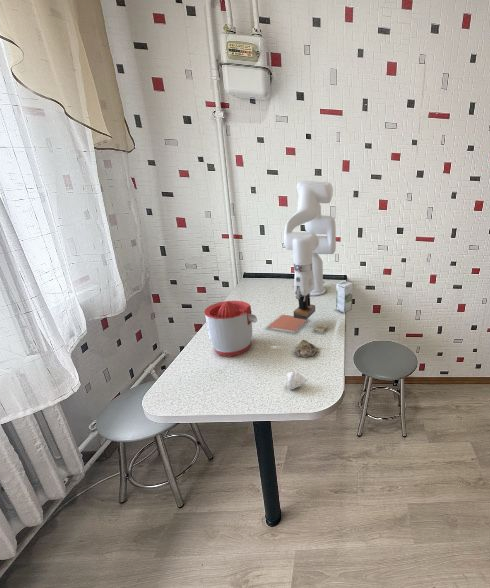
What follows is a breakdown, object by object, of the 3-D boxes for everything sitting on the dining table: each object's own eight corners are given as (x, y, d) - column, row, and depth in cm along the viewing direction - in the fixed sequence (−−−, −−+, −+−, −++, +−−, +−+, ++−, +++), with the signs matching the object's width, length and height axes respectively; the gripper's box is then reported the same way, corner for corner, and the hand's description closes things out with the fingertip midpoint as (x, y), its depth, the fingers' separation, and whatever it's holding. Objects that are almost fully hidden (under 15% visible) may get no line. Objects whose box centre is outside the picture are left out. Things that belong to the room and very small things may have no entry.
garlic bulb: (305, 392, 105) (305, 378, 103) (286, 392, 105) (285, 378, 103) (308, 381, 110) (307, 368, 108) (289, 381, 110) (289, 368, 108)
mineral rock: (320, 351, 124) (299, 348, 121) (317, 361, 125) (296, 359, 122) (315, 338, 133) (295, 335, 130) (312, 348, 134) (293, 345, 131)
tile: (282, 316, 155) (282, 314, 154) (308, 320, 152) (308, 318, 152) (267, 328, 143) (267, 326, 143) (295, 333, 140) (295, 331, 140)
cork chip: (318, 327, 146) (318, 324, 146) (327, 329, 145) (326, 326, 145) (314, 331, 142) (314, 328, 142) (323, 333, 142) (323, 330, 141)
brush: (303, 309, 149) (302, 290, 146) (315, 311, 148) (315, 292, 144) (293, 317, 141) (292, 298, 137) (306, 319, 140) (305, 300, 136)
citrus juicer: (255, 359, 121) (250, 309, 114) (204, 361, 118) (196, 310, 111) (262, 338, 135) (258, 292, 128) (217, 339, 132) (210, 293, 125)
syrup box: (343, 306, 169) (343, 280, 163) (352, 310, 166) (352, 283, 160) (335, 310, 164) (335, 282, 159) (344, 313, 161) (345, 285, 156)
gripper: (302, 274, 128) (304, 316, 135) (319, 262, 143) (320, 301, 150) (285, 271, 129) (287, 313, 136) (303, 260, 144) (305, 298, 151)
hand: (304, 306), depth 143 cm, fingers closed on brush, 3 cm apart
